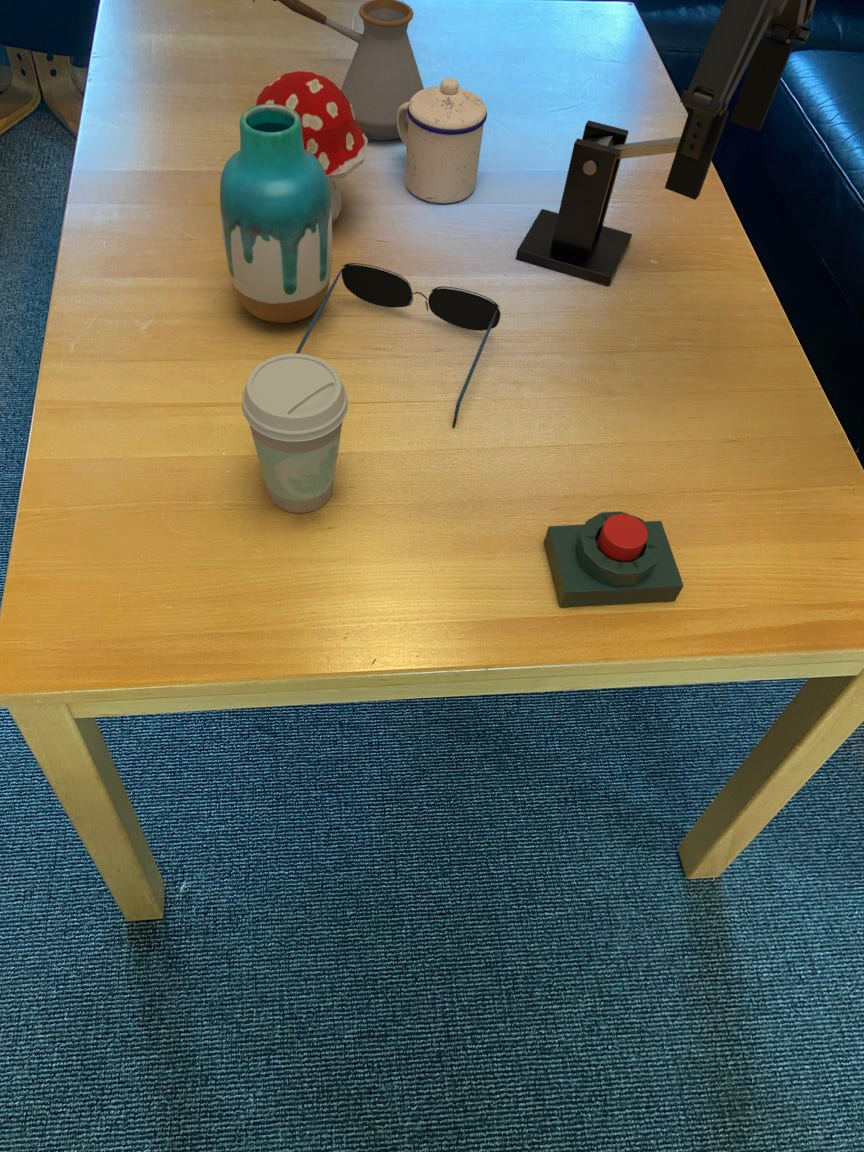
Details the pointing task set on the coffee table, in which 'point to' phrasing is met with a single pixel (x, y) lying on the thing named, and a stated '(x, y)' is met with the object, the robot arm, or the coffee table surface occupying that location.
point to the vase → (276, 218)
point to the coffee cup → (296, 427)
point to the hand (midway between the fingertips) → (714, 157)
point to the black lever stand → (582, 215)
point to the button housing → (609, 567)
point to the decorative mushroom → (322, 124)
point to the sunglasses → (398, 293)
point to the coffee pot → (376, 64)
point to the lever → (640, 146)
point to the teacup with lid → (442, 141)
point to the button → (622, 537)
